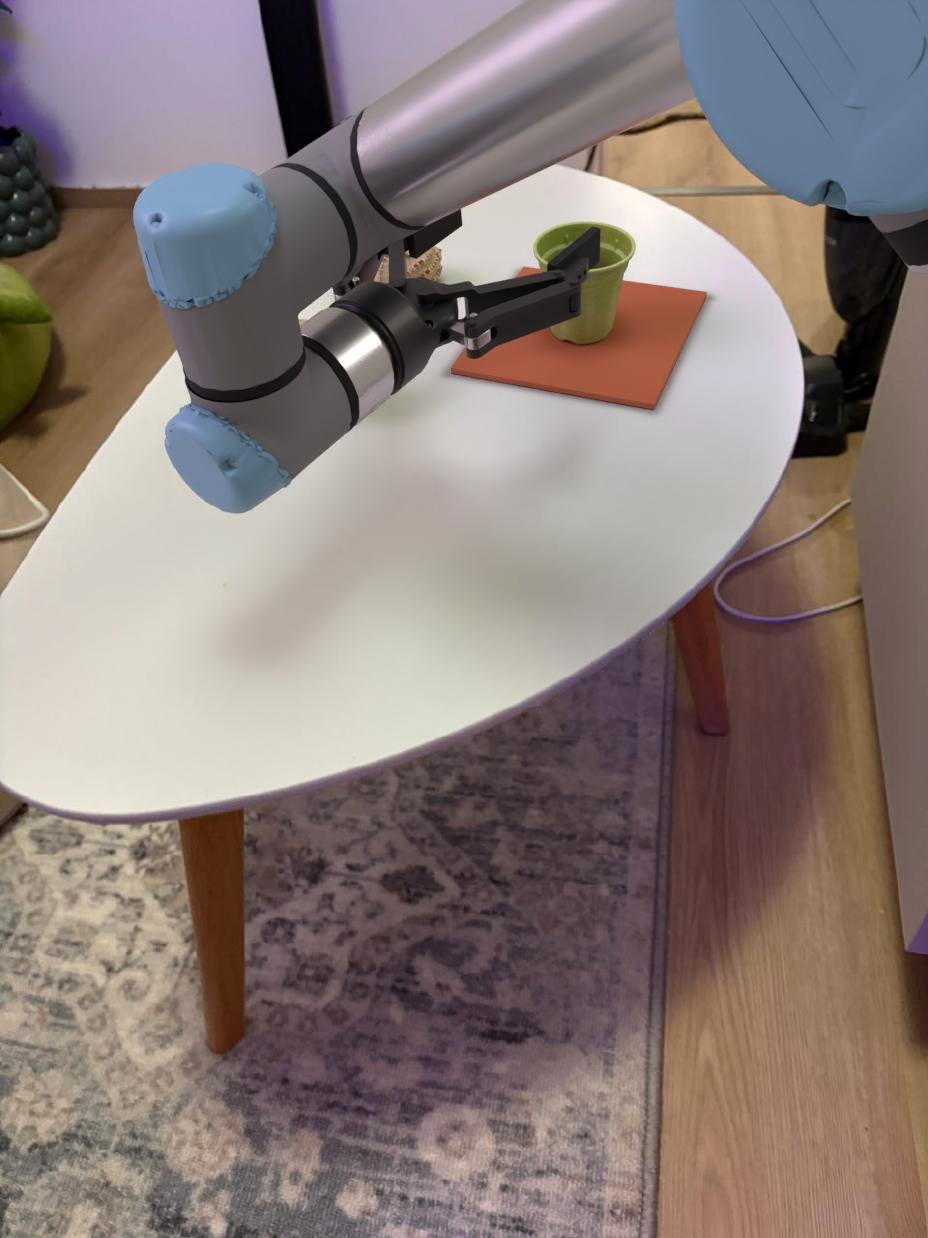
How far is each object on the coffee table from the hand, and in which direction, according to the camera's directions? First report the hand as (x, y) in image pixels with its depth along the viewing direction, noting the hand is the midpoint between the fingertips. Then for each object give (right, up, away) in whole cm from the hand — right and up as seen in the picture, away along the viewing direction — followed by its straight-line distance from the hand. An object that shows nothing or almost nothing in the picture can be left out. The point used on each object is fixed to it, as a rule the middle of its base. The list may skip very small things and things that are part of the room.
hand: (524, 225), depth 77 cm
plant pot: (+7, -4, +16) cm, 18 cm away
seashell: (-12, +3, +25) cm, 28 cm away
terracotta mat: (+7, -4, +16) cm, 18 cm away
